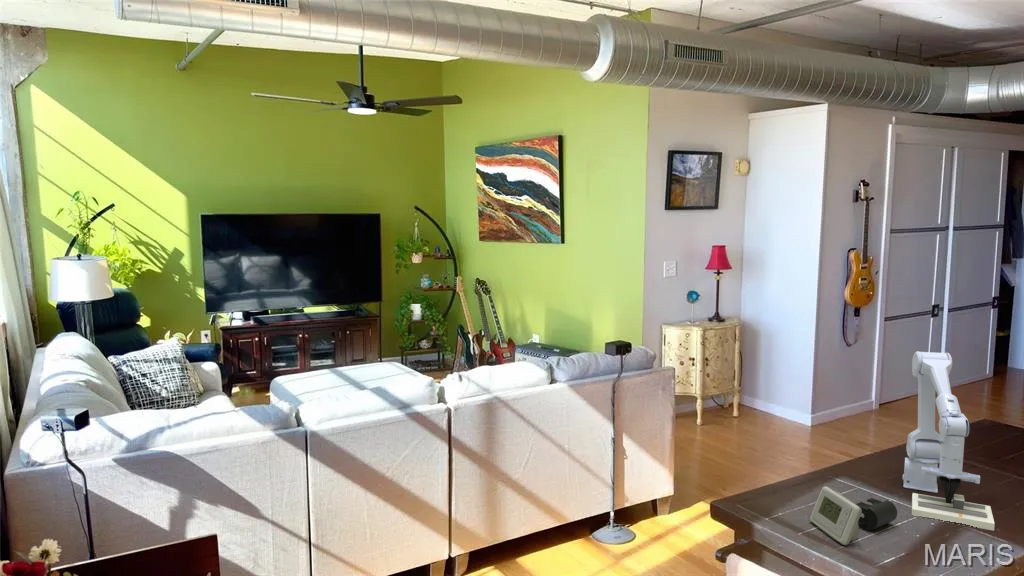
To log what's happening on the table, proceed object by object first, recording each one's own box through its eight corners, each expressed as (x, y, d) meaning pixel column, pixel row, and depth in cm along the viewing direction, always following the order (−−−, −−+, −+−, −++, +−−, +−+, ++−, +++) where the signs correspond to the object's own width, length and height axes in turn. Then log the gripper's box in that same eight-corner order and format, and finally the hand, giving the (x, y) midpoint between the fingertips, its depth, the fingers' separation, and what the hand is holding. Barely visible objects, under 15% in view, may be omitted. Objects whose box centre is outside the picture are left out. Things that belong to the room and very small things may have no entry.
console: (911, 515, 209) (912, 505, 209) (912, 499, 221) (912, 489, 221) (994, 530, 200) (994, 520, 199) (989, 512, 212) (990, 502, 211)
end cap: (877, 535, 197) (878, 511, 196) (852, 525, 203) (854, 502, 202) (897, 526, 202) (898, 503, 202) (872, 517, 208) (874, 495, 207)
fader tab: (953, 509, 208) (954, 498, 208) (952, 504, 212) (953, 493, 212) (963, 511, 207) (964, 500, 207) (962, 506, 211) (963, 495, 210)
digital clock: (807, 520, 206) (809, 484, 205) (840, 521, 205) (842, 485, 204) (830, 546, 190) (833, 508, 188) (865, 547, 189) (868, 508, 188)
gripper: (922, 456, 209) (919, 502, 211) (982, 465, 202) (978, 512, 204) (922, 450, 215) (919, 493, 217) (980, 458, 208) (976, 503, 210)
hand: (948, 502), depth 211 cm, fingers closed
